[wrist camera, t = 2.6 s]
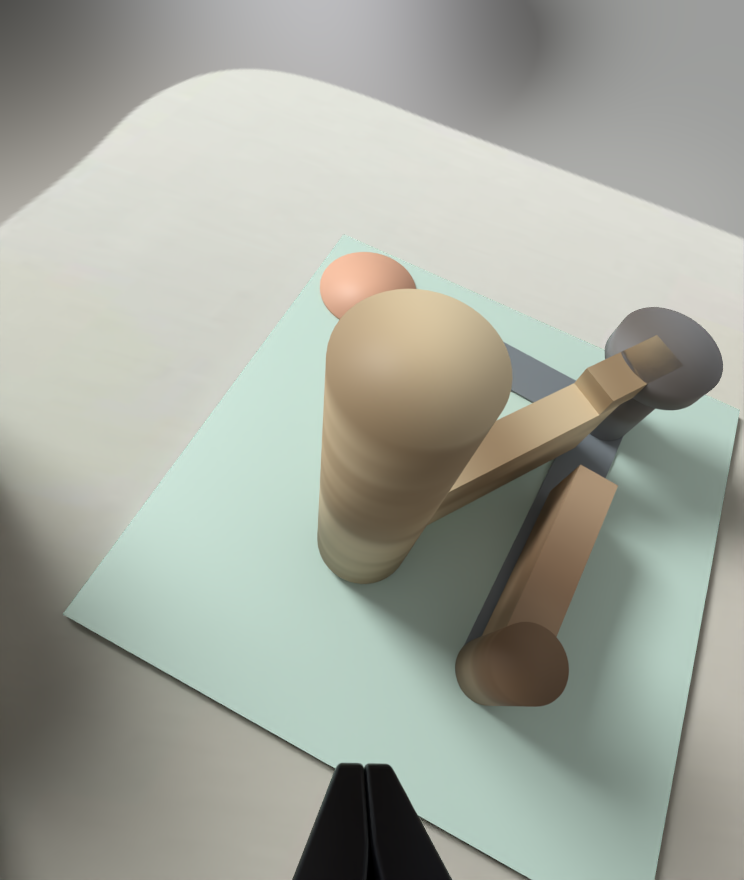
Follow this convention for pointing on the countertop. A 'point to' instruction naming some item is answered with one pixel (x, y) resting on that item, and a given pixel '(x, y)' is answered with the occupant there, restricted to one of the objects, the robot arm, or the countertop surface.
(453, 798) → the card
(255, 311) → the countertop surface
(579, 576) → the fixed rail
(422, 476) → the rail
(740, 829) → the countertop surface
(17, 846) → the countertop surface
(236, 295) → the countertop surface
